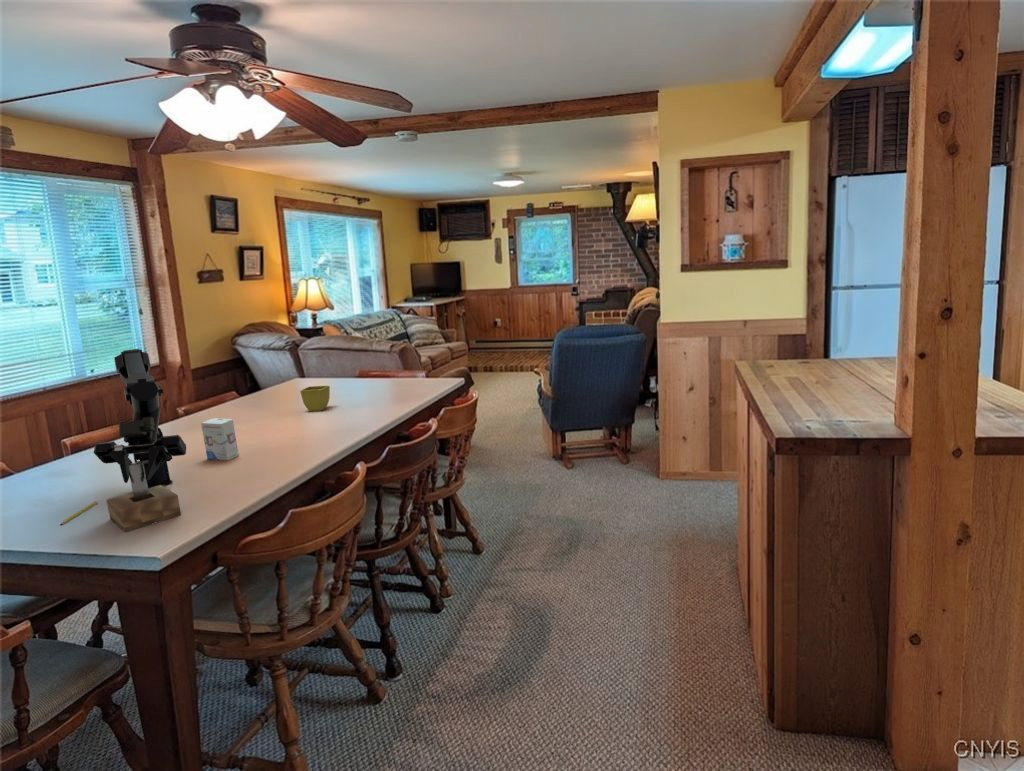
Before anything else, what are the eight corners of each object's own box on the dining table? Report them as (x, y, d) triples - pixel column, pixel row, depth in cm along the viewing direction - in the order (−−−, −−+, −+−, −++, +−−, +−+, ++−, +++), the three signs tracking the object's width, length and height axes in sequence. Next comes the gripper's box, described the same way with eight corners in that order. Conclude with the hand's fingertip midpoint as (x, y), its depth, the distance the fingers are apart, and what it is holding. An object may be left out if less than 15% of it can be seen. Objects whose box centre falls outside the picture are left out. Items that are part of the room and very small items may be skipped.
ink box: (205, 459, 200) (199, 422, 198) (218, 454, 205) (212, 418, 203) (227, 460, 197) (221, 422, 195) (239, 455, 202) (234, 418, 200)
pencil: (57, 527, 153) (56, 523, 153) (94, 505, 167) (93, 501, 167) (62, 527, 153) (61, 523, 153) (98, 504, 167) (97, 501, 167)
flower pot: (312, 407, 265) (309, 385, 263) (332, 406, 264) (329, 385, 262) (302, 412, 256) (299, 390, 255) (323, 412, 255) (320, 389, 253)
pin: (150, 509, 157) (140, 461, 155) (154, 511, 155) (144, 462, 153) (135, 513, 155) (125, 464, 153) (139, 515, 152) (129, 466, 151)
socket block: (164, 503, 163) (160, 484, 162) (181, 514, 155) (177, 494, 154) (110, 519, 155) (106, 499, 154) (125, 532, 146) (121, 511, 145)
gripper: (89, 410, 152) (76, 470, 143) (174, 402, 155) (166, 460, 146) (109, 434, 161) (98, 491, 153) (189, 426, 164) (183, 481, 156)
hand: (136, 481), depth 152 cm, fingers open, 4 cm apart
